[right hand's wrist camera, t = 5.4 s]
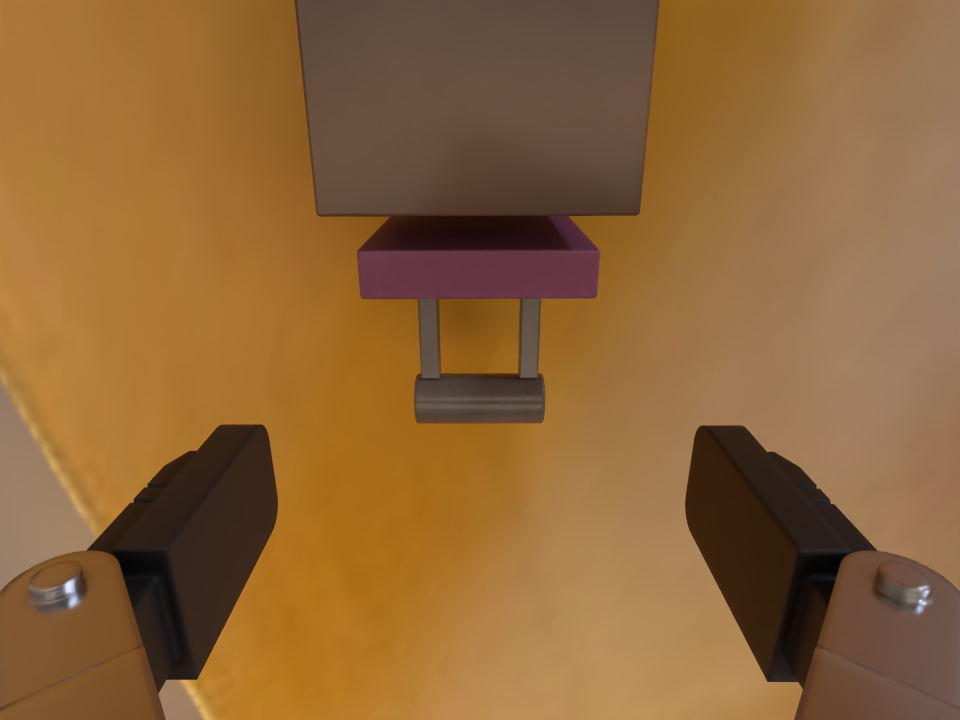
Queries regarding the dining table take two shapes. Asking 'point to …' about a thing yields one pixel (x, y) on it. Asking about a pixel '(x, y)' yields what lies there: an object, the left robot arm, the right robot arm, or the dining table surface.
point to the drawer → (478, 275)
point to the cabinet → (477, 105)
